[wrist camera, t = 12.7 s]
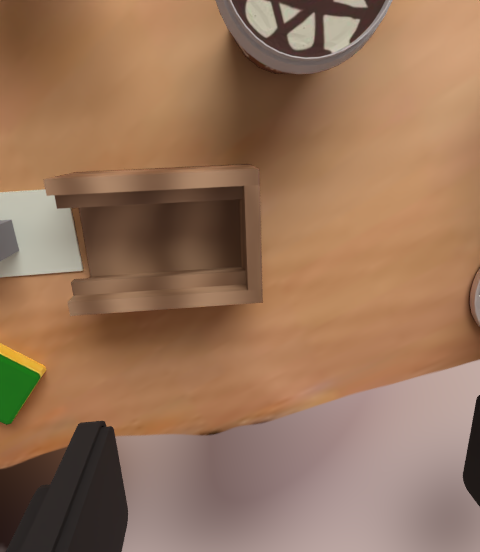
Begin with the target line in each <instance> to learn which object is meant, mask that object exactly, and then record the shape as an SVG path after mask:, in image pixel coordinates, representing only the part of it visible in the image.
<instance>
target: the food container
mask: <svg viewBox="0 0 480 552" xmlns="http://www.w3.org/2000/svg"><path fill="white" fill-rule="evenodd" d="M391 2H392V0H216V3H217V6H218V9H219V12H220V14H221V16H222V18H223V20H224V22H225V24H226V26H227V28H228V30H229V31H230V32H231V34H232V35H233V37H234V39H235V41H236V42H237V44H238V46H239V47H240V49H241V50H242V52H243V53H244V55H245V56H246V57H247V58H248V59H249V60H251V61H252V62H253V63H254V64H256V65H257V66H258V67H259V68H261V69H264V70H267V71H270V72H273V73H275V74H289V73H293V74H312V73H316V72H321V71H325V70H328V69H330V68H332V67H335V66H337V65H339V64H341V63H342V62H344V61H346V60H347V59H349V58H350V57H352V56H353V55H354V54H355V53H356V52H357V51H359V50H360V49H361V48H362V47H363V46H364V44H365V43H366V42H367V41H368V40H369V39H370V38H371V36H372V35H373V33H374V32H375V30H376V29H377V27H378V26H379V24H380V23H381V21H382V19H383V18H384V16H385V15H386V12H387V10H388V8H389V6H390V4H391Z"/></svg>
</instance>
